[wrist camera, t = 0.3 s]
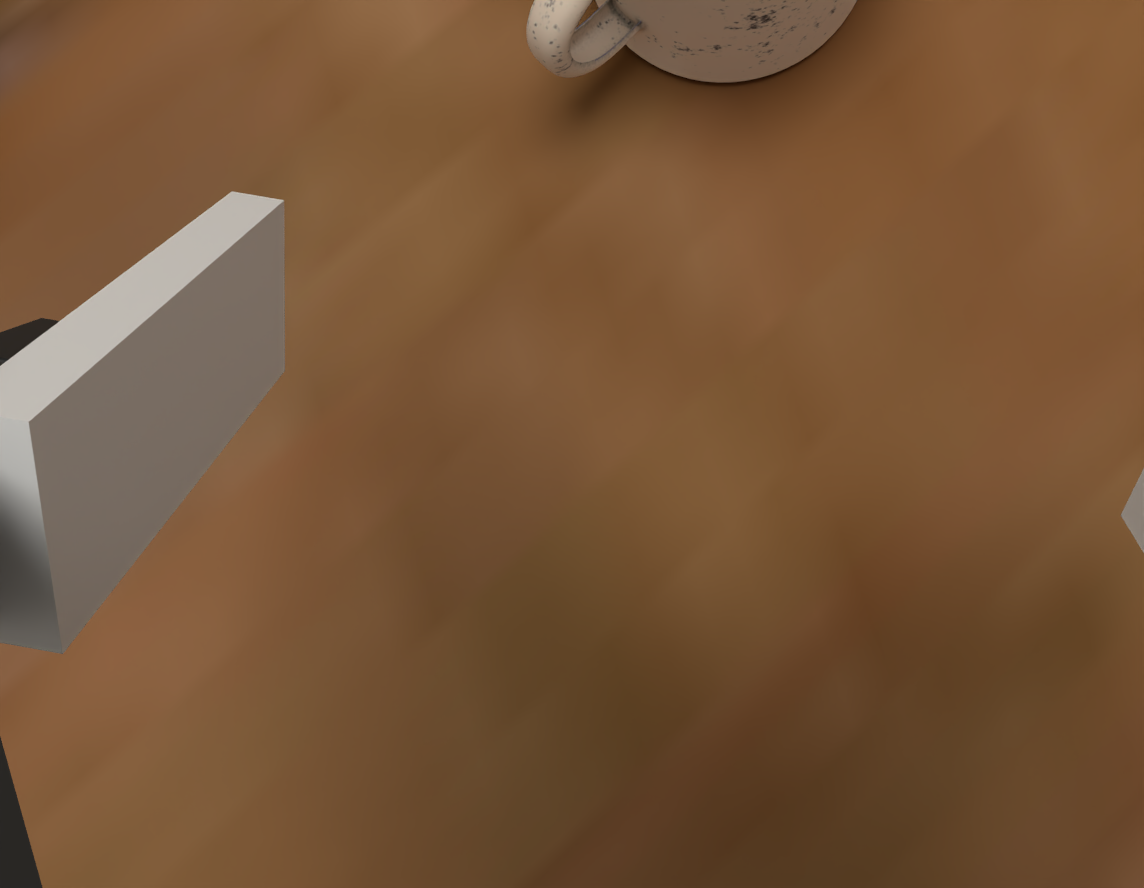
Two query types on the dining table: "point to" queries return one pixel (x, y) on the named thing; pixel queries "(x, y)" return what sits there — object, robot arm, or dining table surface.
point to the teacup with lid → (684, 34)
